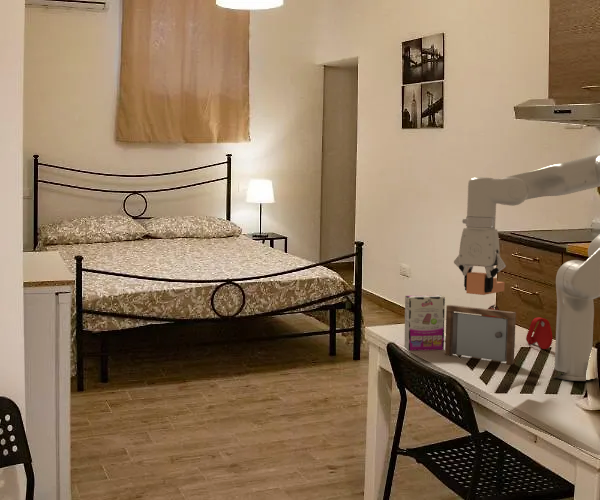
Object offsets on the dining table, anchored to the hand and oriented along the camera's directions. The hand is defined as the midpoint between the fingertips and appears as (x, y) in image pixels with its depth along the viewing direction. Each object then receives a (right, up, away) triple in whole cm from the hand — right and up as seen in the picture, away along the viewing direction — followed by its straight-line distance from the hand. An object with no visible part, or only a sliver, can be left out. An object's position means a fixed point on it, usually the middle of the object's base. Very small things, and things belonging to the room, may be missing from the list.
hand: (478, 290), depth 226 cm
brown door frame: (+3, -20, +14) cm, 25 cm away
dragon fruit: (+13, -19, +42) cm, 47 cm away
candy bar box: (-11, -19, +26) cm, 34 cm away
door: (+3, -20, +13) cm, 24 cm away
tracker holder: (+25, -20, +31) cm, 44 cm away
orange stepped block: (+3, -1, +4) cm, 5 cm away
